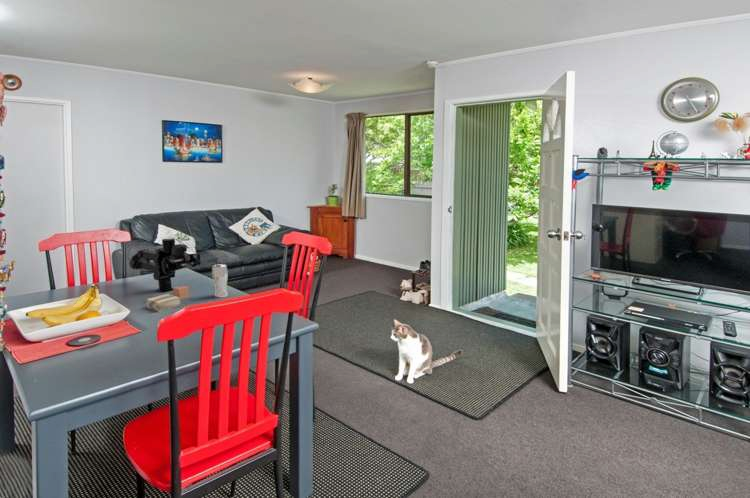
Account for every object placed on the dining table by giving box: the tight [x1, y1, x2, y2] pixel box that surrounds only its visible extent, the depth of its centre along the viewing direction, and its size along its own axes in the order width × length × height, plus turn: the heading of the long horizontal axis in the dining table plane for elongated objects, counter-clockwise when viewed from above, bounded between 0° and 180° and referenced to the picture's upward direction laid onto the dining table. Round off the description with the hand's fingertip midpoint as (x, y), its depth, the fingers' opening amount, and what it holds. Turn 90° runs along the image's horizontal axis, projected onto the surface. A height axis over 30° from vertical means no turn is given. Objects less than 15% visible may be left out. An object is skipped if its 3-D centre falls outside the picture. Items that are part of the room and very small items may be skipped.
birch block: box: [145, 293, 181, 313], centre depth 214 cm, size 10×10×4 cm
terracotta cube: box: [172, 285, 190, 300], centre depth 229 cm, size 5×5×5 cm
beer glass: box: [211, 263, 229, 298], centre depth 230 cm, size 7×7×15 cm
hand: (191, 265), depth 223 cm, fingers open, 9 cm apart
